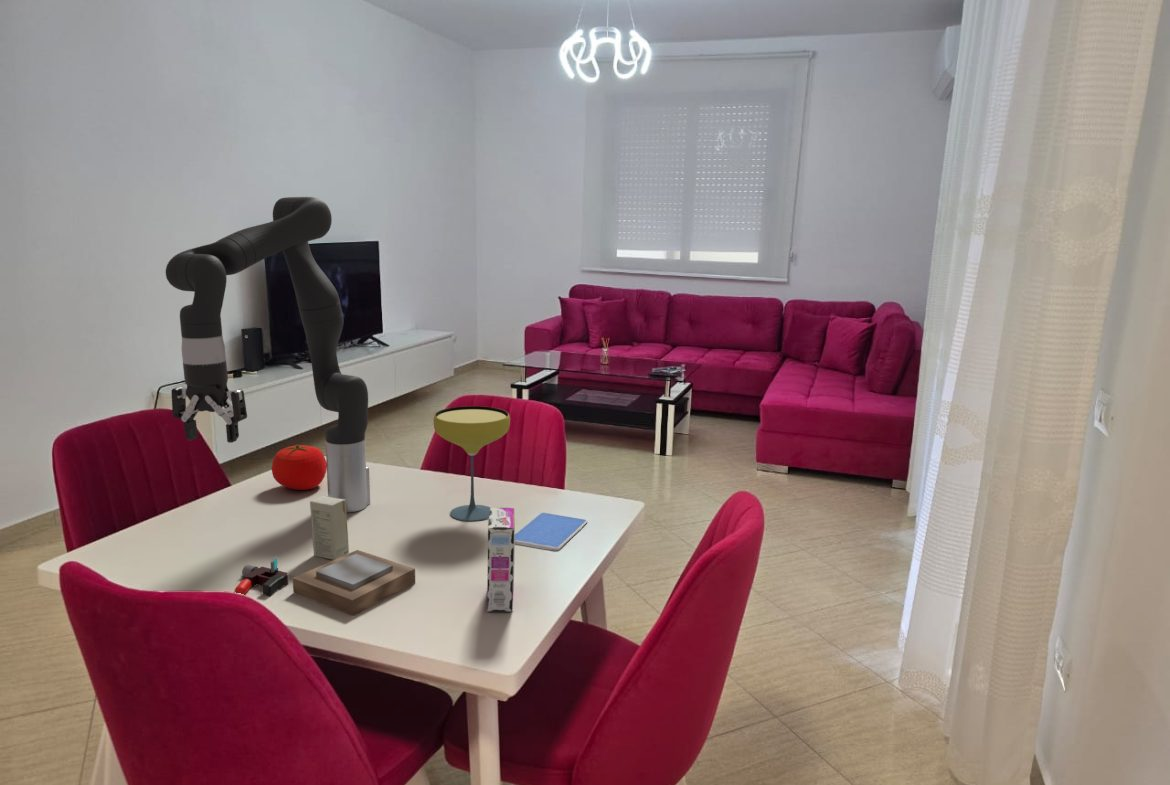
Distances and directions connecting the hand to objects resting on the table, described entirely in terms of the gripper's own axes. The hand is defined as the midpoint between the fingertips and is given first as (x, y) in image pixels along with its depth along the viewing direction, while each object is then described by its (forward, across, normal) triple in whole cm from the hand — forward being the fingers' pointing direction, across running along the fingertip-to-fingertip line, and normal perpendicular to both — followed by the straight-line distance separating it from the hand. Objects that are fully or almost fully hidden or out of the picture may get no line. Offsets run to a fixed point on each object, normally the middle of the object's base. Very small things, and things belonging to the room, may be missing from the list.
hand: (212, 440), depth 153 cm
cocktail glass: (+28, -40, -39) cm, 63 cm away
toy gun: (+27, -11, +8) cm, 30 cm away
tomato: (+28, +9, -48) cm, 56 cm away
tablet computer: (+28, -61, -32) cm, 75 cm away
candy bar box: (+27, -59, +3) cm, 65 cm away
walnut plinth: (+27, -30, +4) cm, 41 cm away
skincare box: (+27, -18, -9) cm, 34 cm away
